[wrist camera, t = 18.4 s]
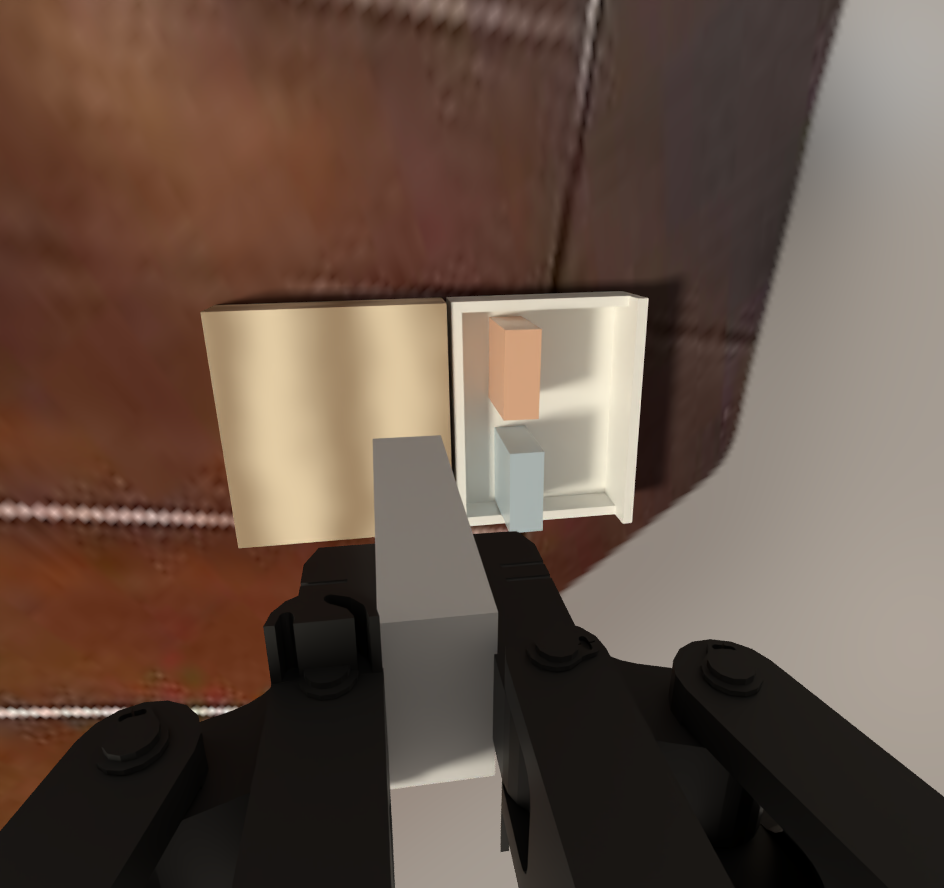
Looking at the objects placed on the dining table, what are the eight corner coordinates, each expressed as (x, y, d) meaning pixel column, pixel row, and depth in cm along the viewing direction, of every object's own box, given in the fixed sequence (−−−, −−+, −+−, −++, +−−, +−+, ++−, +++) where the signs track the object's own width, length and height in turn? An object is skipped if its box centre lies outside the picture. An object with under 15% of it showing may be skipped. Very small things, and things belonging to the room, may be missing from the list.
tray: (452, 509, 42) (460, 537, 38) (446, 297, 37) (453, 305, 34) (609, 497, 44) (631, 522, 40) (622, 290, 39) (648, 298, 35)
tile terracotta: (503, 420, 35) (538, 419, 35) (504, 330, 33) (541, 329, 33) (488, 397, 39) (519, 395, 40) (488, 316, 38) (521, 316, 38)
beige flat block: (248, 525, 40) (238, 548, 38) (214, 305, 36) (200, 312, 33) (448, 509, 42) (453, 530, 39) (441, 297, 37) (446, 303, 35)
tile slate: (509, 533, 37) (542, 530, 37) (509, 454, 35) (544, 451, 36) (494, 498, 42) (524, 496, 42) (494, 427, 40) (524, 425, 40)
